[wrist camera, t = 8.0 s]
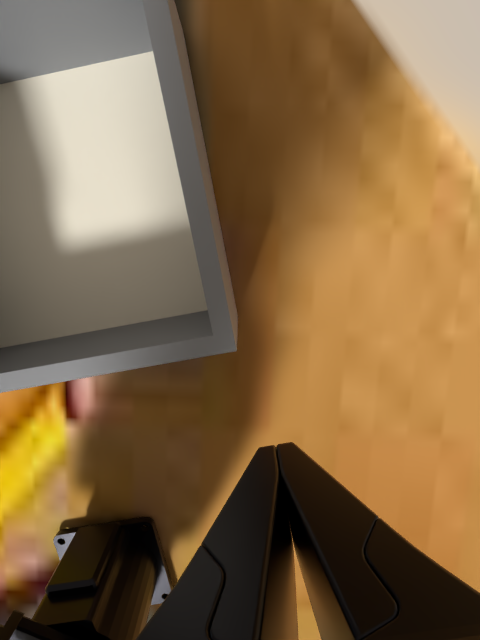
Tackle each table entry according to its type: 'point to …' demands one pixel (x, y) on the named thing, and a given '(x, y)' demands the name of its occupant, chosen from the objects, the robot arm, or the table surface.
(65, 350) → the open gray box
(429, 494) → the table surface
